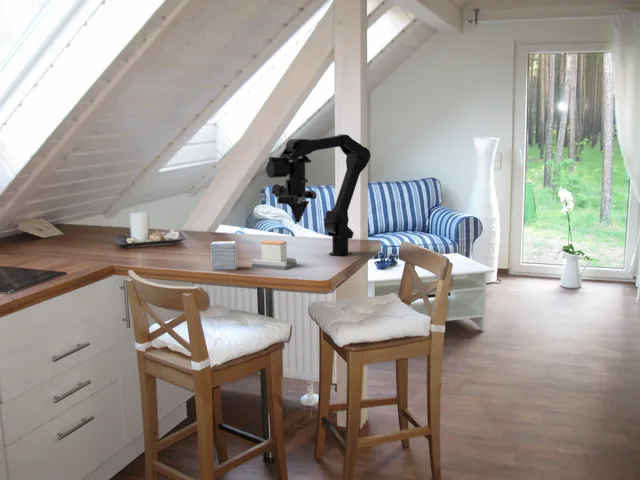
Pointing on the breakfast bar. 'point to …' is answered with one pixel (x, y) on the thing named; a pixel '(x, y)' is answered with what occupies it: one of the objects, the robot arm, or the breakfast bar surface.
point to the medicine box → (224, 255)
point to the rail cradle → (275, 264)
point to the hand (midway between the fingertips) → (297, 222)
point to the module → (274, 250)
